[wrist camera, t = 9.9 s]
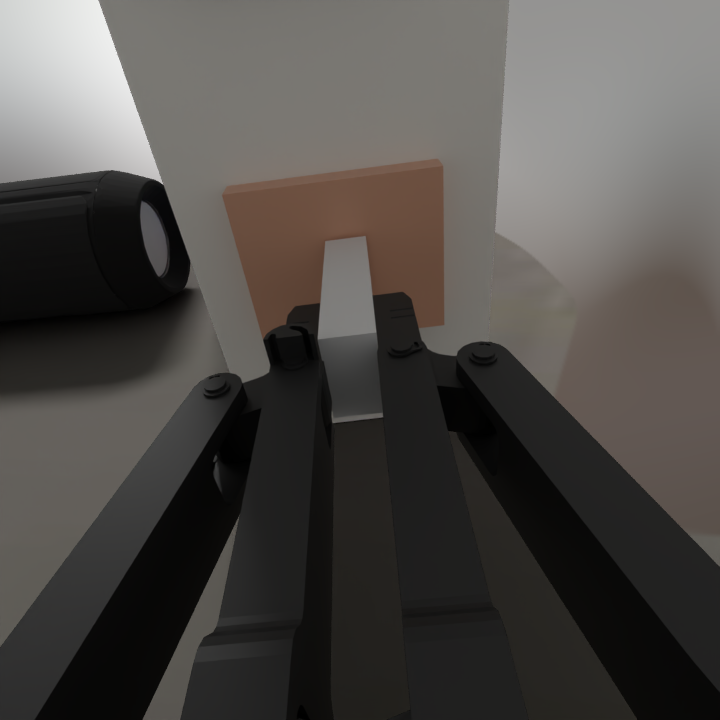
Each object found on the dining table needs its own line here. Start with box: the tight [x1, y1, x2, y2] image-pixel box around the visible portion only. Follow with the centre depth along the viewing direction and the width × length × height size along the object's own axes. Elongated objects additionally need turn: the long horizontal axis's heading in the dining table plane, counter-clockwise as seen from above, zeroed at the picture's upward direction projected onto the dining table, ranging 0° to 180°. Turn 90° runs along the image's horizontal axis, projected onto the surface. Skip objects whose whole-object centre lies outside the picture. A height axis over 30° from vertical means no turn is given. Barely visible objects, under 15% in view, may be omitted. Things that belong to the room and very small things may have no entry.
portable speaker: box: [0, 170, 190, 323], centre depth 36 cm, size 26×10×10 cm, turn 90°
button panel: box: [99, 0, 509, 423], centre depth 18 cm, size 12×6×30 cm, turn 93°
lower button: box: [222, 159, 444, 339], centre depth 21 cm, size 8×7×6 cm
